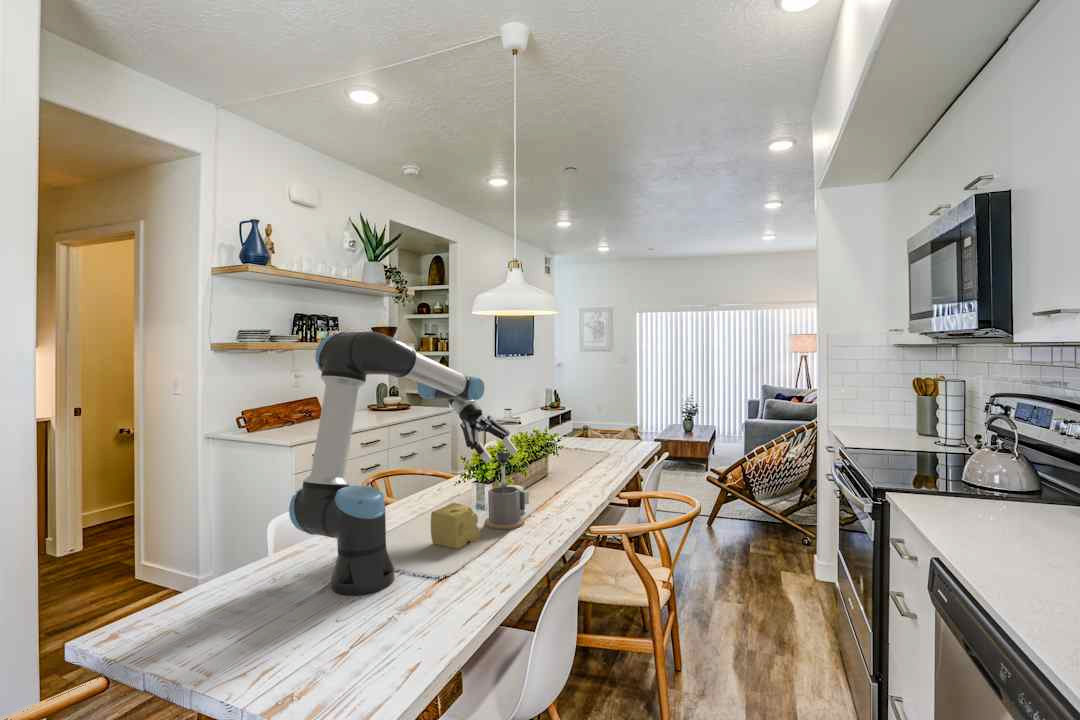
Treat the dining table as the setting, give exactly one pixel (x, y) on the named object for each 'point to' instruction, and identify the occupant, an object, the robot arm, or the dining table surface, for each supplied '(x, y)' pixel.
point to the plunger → (503, 467)
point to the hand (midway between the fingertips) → (502, 457)
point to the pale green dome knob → (526, 495)
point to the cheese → (454, 526)
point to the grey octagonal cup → (505, 508)
